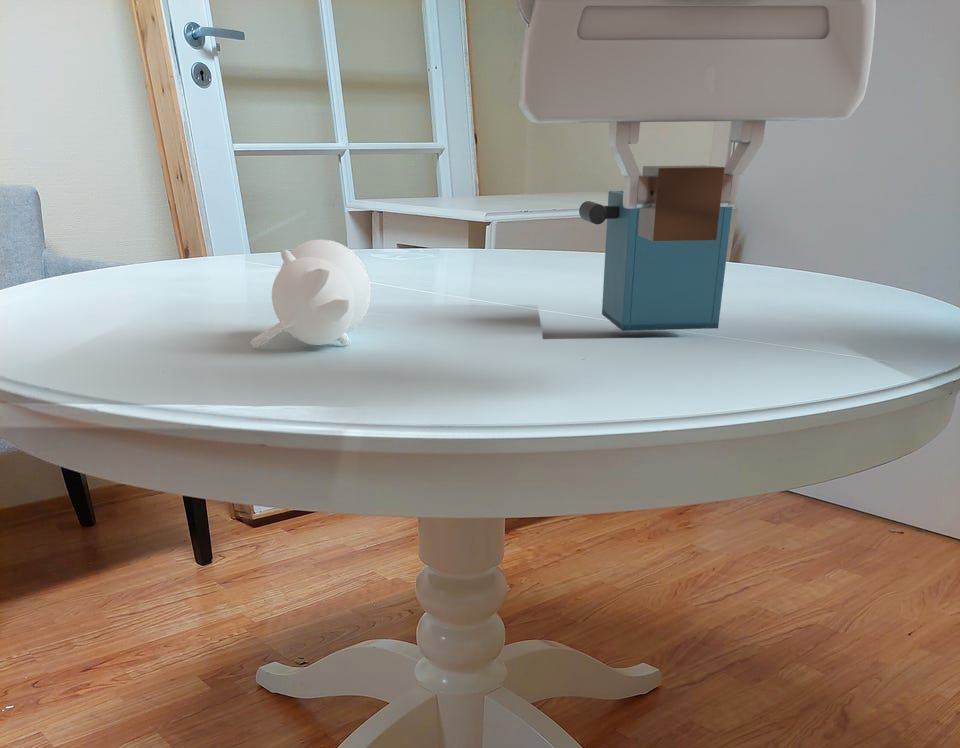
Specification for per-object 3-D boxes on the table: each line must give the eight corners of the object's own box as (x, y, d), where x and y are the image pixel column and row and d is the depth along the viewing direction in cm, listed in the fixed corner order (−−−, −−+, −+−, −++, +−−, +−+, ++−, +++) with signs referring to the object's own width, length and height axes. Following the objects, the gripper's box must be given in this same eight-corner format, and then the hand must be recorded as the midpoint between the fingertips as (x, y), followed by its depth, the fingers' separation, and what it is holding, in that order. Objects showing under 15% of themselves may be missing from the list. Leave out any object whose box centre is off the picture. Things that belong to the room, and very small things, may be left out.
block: (697, 234, 58) (704, 165, 56) (716, 240, 55) (725, 167, 53) (637, 235, 58) (642, 166, 56) (653, 241, 54) (659, 167, 52)
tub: (690, 312, 89) (702, 189, 84) (718, 328, 81) (734, 194, 76) (570, 315, 88) (575, 191, 83) (588, 331, 80) (594, 196, 75)
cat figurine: (313, 226, 66) (337, 210, 77) (206, 306, 69) (243, 280, 80) (381, 329, 70) (395, 300, 80) (277, 400, 73) (303, 363, 83)
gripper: (524, -87, 45) (520, 213, 52) (910, -85, 46) (857, 208, 53) (510, -63, 51) (508, 206, 57) (856, -61, 52) (814, 201, 59)
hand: (679, 207), depth 55 cm, fingers closed on block, 4 cm apart
